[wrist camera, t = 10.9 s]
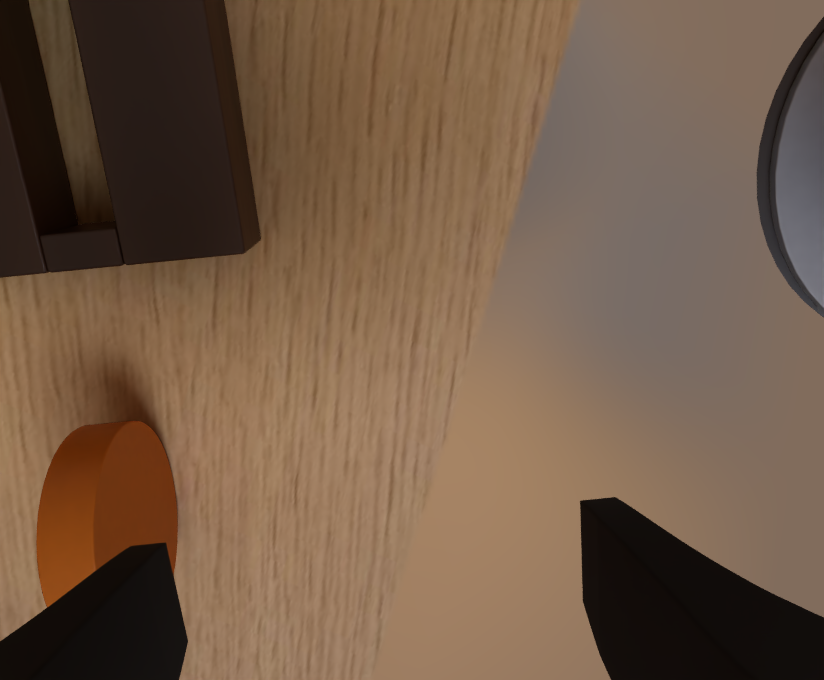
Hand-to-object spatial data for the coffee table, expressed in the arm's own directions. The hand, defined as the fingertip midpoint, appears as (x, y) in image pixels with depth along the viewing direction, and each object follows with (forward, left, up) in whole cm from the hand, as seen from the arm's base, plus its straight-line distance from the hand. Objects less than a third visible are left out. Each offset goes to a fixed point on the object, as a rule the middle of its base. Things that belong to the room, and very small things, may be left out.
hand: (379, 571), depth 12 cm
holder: (+7, -9, -10) cm, 16 cm away
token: (+8, +3, -10) cm, 13 cm away
